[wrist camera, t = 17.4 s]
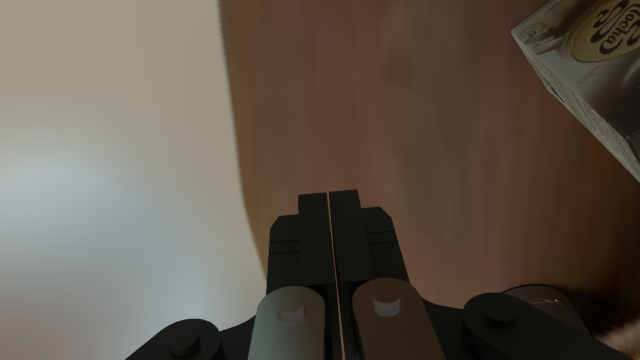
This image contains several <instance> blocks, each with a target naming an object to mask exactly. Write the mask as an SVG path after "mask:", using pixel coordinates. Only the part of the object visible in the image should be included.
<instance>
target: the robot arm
mask: <svg viewBox="0 0 640 360" xmlns="http://www.w3.org/2000/svg"><path fill="white" fill-rule="evenodd" d="M329 201H330V213H331V225H332V237H333V248H334V259H335V268H334V259H333V250H332V240H331V231H330V221H329V212H328V203H327V193H326V192H324V193H313V194H302V195H298V209H299V214H296V215H285V216H279V217H278V218H277V220H276V221H275V223H274V224H273V225H272V227H271V228H270V241H269V243H270V245H269V257H268V273H267V289H266V296H265V297H264V298H263V300H262V301H261V302H260V304H259V306H258V308H257V312H256V315H254V316H253V317H252V318H251V319H249V320H248V321H246V322H244V323H242V324H240V325H237V326H235V327H231V328H228V329H226V330H223V331H220V332H219V330H218V328H217V327H216V326H215V325H214V324H212V323H211V322H209V321H206V320H202V319H186V320H181V321H178V322H175V323H173V324H171V325H169V326H167V327H165V328H164V329H162V330H161V331H160V332H158V333H157V334H156V335H155V336H154V337H152V338H151V339H150V340H149V341H147V342H146V343H145V344H144V345H142V346H141V347H140V348H139V349H137V350H136V351H135V352H134V353H133V354H131V355H130V356H129V357H128V358H126V359H125V360H342V348H341V336H340V324H339V312H338V300H337V288H336V278H337V287H338V296H339V305H340V315H341V324H342V333H343V342H344V351H345V360H634V359H632V358H630V357H628V356H626V355H624V354H623V353H621V352H619V351H617V350H615V349H613V348H611V347H609V346H608V345H606V344H604V343H602V342H600V341H598V340H596V339H594V338H592V337H591V336H590V334H589V332H588V330H587V329H586V327H585V325H584V324H583V322H582V321H581V319H580V317H579V316H578V314H577V312H576V311H575V309H574V307H573V306H572V304H571V302H570V301H569V299H568V298H567V297H566V296H565V295H564V294H563V293H561V292H560V291H558V290H556V289H554V288H551V287H546V286H533V285H531V286H524V287H519V288H515V289H512V290H509V291H507V292H505V293H484V294H480V295H477V296H475V297H473V298H471V299H470V300H469V301H468V302H467V303H466V304H465V306H464V309H458V308H452V307H445V306H440V305H437V304H434V303H431V302H429V301H427V300H425V299H423V298H422V297H420V295H419V293H418V291H417V290H416V289H415V288H414V287H413V286H412V285H411V284H410V281H409V278H408V274H407V271H406V267H405V264H404V260H403V257H402V253H401V250H400V246H399V244H398V239H397V236H396V233H395V229H394V225H393V222H392V218H391V217H390V216H389V215H388V214H387V213H386V212H385V211H384V210H383V209H382V208H380V207H372V208H361V206H360V201H359V196H358V191H357V189H356V190H345V191H334V192H329ZM335 269H336V278H335Z"/></svg>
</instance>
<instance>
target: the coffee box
mask: <svg viewBox="0 0 640 360" xmlns="http://www.w3.org/2000/svg"><path fill="white" fill-rule="evenodd" d="M511 34H512V36H513V37H514V39H515V40H516V42H517V43H518V45H519V46H520V48H521V50H522V51H523V53H524V54H525V56H526V57H527V59H528V60H529V62H530V64H531V65H532V67H533V68H534V70H535V71H536V73H537V74H538V76H539V77H540V79H541V80H542V82H543V83H544V85H545V86H546V88H547V89H548V91H549V92H550V93H552V94H553V95H554V96H555V97H556V98H557V99H558V100H559V101H560V102H561V103H562V104H563V105H564V106H565V107H566V108H567V109H568V110H569V111H570V112H571V113H572V114H573V115H574V116H575V117H576V118H577V119H578V120H579V121H580V122H581V123H582V124H583V125H584V126H585V127H586V128H587V129H588V130H589V131H590V132H591V133H592V134H593V135H594V136H595V137H596V138H597V139H598V140H599V141H600V142H601V143H602V144H603V145H604V146H605V147H606V148H607V149H608V150H609V151H610V152H611V153H612V154H613V155H614V156H615V157H616V158H617V159H618V160H619V161H620V162H621V163H622V164H623V165H624V167H625V168H626V169H627V170H628V171H629V172H630V173H631V174H632V175H633V176H634V177H635V178H636V179H637V180H638V181H639V182H640V0H551V1H550V2H548V3H547V4H546V5H544V6H543V7H542V8H540V9H539V10H538V11H536V12H535V13H534V14H532V15H531V16H529V17H528V18H527V19H525V20H524V21H523V22H521V23H520V24H519V25H517V26H516V27H515V28H513V29H512V30H511Z"/></svg>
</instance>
